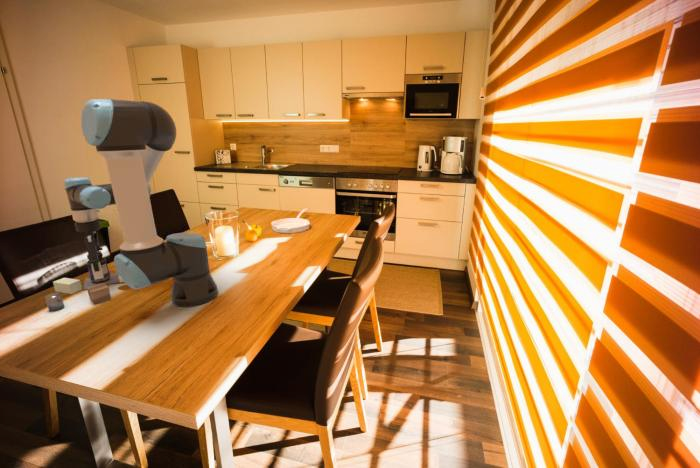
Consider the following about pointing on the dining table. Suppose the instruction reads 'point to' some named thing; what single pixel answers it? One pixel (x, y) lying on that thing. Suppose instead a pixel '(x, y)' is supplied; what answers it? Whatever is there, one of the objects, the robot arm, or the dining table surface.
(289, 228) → the pan
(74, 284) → the sage block
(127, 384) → the dining table surface
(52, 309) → the grey rounded block
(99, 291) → the walnut cube
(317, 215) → the dining table surface
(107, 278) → the pill bottle
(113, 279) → the mat
